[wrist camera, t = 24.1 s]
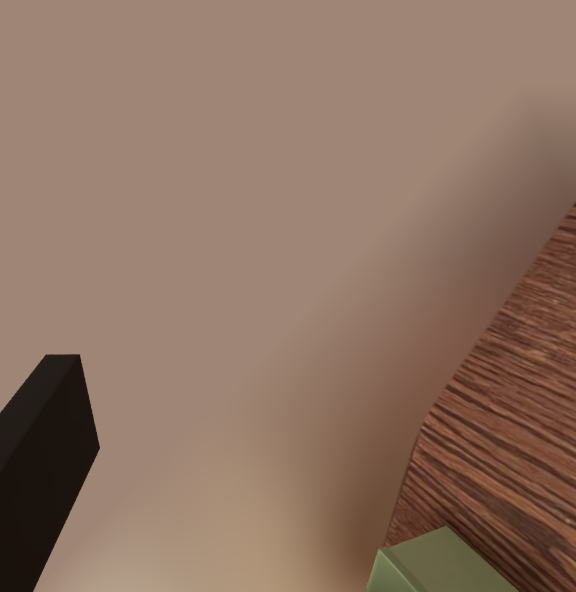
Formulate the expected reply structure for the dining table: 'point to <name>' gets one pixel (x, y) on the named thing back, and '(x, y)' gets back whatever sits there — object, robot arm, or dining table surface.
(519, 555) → the dining table surface
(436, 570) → the green box
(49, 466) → the robot arm
